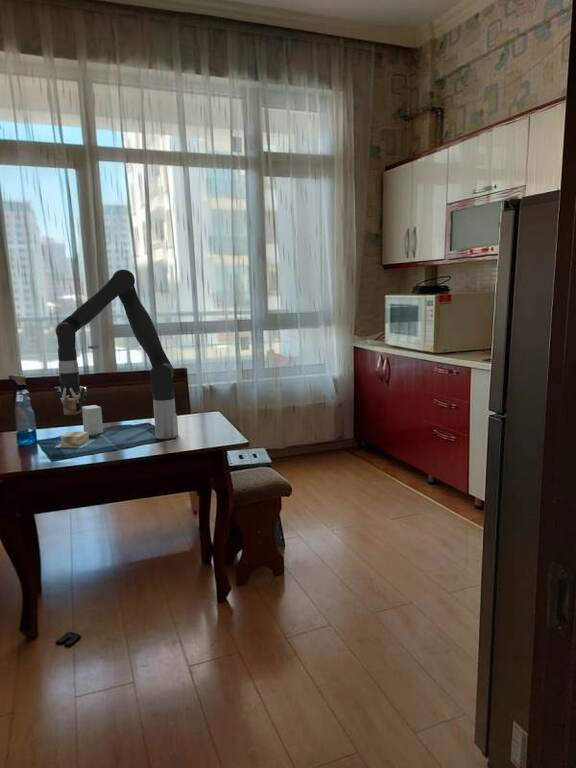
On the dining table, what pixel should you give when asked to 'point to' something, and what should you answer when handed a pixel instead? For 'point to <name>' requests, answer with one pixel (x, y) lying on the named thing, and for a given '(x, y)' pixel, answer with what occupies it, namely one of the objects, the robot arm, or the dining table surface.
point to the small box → (92, 419)
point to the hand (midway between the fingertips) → (72, 411)
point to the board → (77, 446)
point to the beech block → (74, 438)
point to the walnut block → (70, 407)
